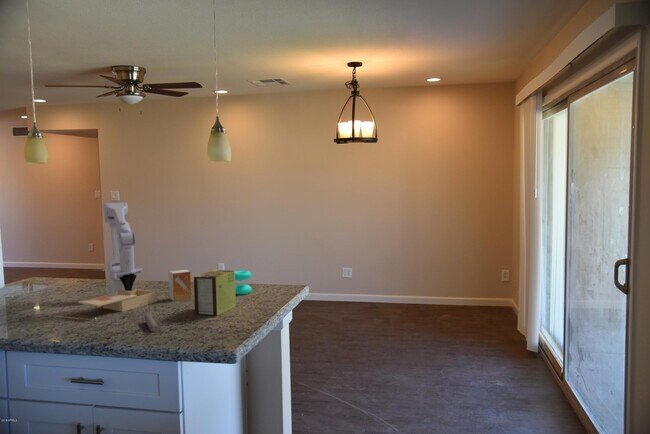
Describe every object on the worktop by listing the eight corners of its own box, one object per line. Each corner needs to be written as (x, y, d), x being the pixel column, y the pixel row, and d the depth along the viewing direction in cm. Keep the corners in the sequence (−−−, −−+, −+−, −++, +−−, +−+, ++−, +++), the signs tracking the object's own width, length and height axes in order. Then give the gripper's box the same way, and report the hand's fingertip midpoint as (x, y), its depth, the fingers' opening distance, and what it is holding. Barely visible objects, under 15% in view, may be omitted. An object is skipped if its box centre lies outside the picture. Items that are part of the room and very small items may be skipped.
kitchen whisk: (146, 335, 176) (145, 317, 176) (133, 314, 206) (132, 298, 206) (164, 333, 179) (163, 315, 179) (149, 312, 209) (148, 297, 209)
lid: (78, 303, 203) (77, 298, 203) (117, 293, 219) (117, 289, 219) (98, 306, 197) (98, 301, 197) (136, 296, 213) (136, 291, 212)
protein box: (236, 306, 214) (235, 270, 213) (217, 316, 199) (215, 277, 198) (214, 305, 217) (213, 269, 216) (194, 314, 203) (192, 276, 202)
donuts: (232, 270, 244) (252, 270, 244) (232, 290, 245) (253, 290, 245) (227, 274, 234) (249, 273, 234) (228, 295, 235) (249, 295, 235)
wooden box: (103, 309, 213) (102, 297, 212) (138, 300, 228) (137, 289, 228) (122, 312, 207) (122, 300, 206) (157, 303, 222) (156, 291, 222)
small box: (173, 302, 223) (172, 273, 222) (169, 299, 228) (168, 271, 227) (191, 299, 227) (190, 271, 226) (187, 297, 233) (186, 269, 232)
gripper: (118, 263, 207) (120, 296, 208) (147, 258, 220) (148, 289, 221) (107, 262, 211) (109, 294, 212) (136, 257, 223) (137, 288, 224)
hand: (128, 292), depth 216 cm, fingers closed
